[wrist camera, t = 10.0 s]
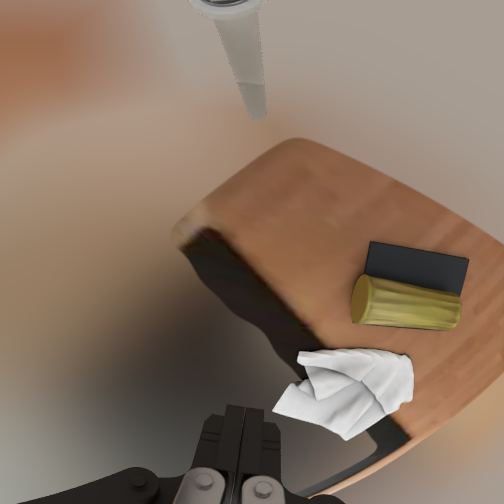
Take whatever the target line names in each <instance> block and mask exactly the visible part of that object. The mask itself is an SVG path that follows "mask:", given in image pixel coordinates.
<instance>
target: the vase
mask: <svg viewBox="0 0 504 504" xmlns="http://www.w3.org/2000/svg"><path fill="white" fill-rule="evenodd" d="M461 311H462V304H461V300H460V298H459V296H458V295H457V294H455V293H453V292H447V291H440V290H434V289H428V288H423V287H419V286H414V285H410V284H406V283H400V282H396V281H392V280H387V279H381V278H376V277H371V276H368V275H366V274H363V275H361V276H360V277H359V279H358V280H357V282H356V284H355V287H354V290H353V294H352V299H351V318H352V320H353V322H354V324H356V325H360V324H373V325H384V326H397V327H413V328H425V329H434V330H443V331H450V330H452V329H454V328H455V327H456V326H457V324H458V322H459V320H460V317H461Z"/></svg>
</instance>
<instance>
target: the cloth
mask: <svg viewBox="0 0 504 504" xmlns="http://www.w3.org/2000/svg"><path fill="white" fill-rule="evenodd" d="M297 362H298V363H300V364H301V365H304V366H305V369H306V372H307V374H308V377H309V379H305V380H304V381H303V382H301V381H297V382H294V383H291V384H290V385H289V386H288V387H287V389H286V390H285V392H284V393H283V395H282V396H281V398H280V399H279V401H278V402H277V404H276V406H275V407H274V409H273V410H272V411H273V412H276V413H279V414H282V415H286V416H289V417H293V418H297V419H300V420H303V421H307V422H311V423H315V424H319V425H321V426H323V427H325V428H327V429H329V430H331V431H333V432H334V433H338V434H339V435H340V436H341V437H342V438H343V439H344V440H345V441H347V440H349V439H350V438H352V437H354V436H355V435H357V434H359V433H360V432H362V431H364V430H365V429H367V428H368V427H370V426H371V425H373V424H374V423H376V422H377V421H379V420H380V419H381V418H383V417H384V416H386V415H388V414H390V413H392V412H395V411H396V410H398V409H399V407H400V404H401V403H403V402H410V401H411V400H412V399H413V389H414V375H413V366H412V362H411V359H410V358H409V357H408V356H407V355H406V354H404V355H402V356H400V355H398V354H395V353H391V352H389V351H385V350H377V349H362V348H356V349H344V348H340V349H335V350H318V351H314V352H303V351H300V352H299V355H298V359H297Z"/></svg>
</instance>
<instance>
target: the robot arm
mask: <svg viewBox="0 0 504 504" xmlns="http://www.w3.org/2000/svg"><path fill="white" fill-rule="evenodd" d="M201 1H202V2H204V3H206V4H208V5H211V6H216V7H230V6H236V5H239V4H242V3H244V2H246V1H248V0H201ZM244 408H245V407H240V406H233V405H227V407H226V412H225V416H220V415H215V414H212V415H211V416H210V417H209V418H208V419H207V420H205V422H204V425H203V429H202V432H201V435H200V440H199V443H198V446H197V449H196V453H195V456H194V459H193V463H192V466H191V468H190V470H189V471H188V472H187V473H185V474H183V475H181V476H178V477H172V478H158V477H157V476H156V475H155V474H154V473H153V472H152V471H150V470H148V469H145V468H141V467H132V468H128V469H125V470H123V471H120V472H118V473H115V474H112V475H110V476H107V477H104V478H102V479H99V480H96V481H94V482H90V483H88V484H85V485H82V486H79V487H76V488H73V489H69V490H66V491H63V492H60V493H56V494H53V495H49V496H46V497H42V498H38V499H35V500H31V501H27V502H22V503H18V504H230V498H231V493H232V488H233V483H234V489H233V495H232V503H231V504H345V503H344V502H342V501H341V500H340V499H338V498H337V497H335V496H332V495H326V494H321V495H317V496H314V497H312V498H311V499H308V498H304V497H301V496H298V495H295V494H293V493H290V492H289V491H288V490H287V489H286V488H285V487H284V486H283V484H282V482H281V453H280V452H281V451H280V449H281V445H280V444H281V443H280V442H281V441H280V430H279V429H278V427H277V425H276V424H275V423H270V422H263V418H264V410H262V409H255V408H246V411H245V417H244V422H243V416H244ZM242 423H243V428H242ZM241 431H242V434H241ZM240 438H241V440H240ZM239 445H240V446H239ZM238 452H239V453H238ZM237 459H238V461H237ZM236 466H237V468H236ZM235 473H236V475H235ZM234 477H235V481H234Z"/></svg>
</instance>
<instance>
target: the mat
mask: <svg viewBox="0 0 504 504" xmlns="http://www.w3.org/2000/svg"><path fill="white" fill-rule="evenodd" d="M468 263H469V259H466V258H461V257H456V256H450V255H445V254H440V253H434V252H429V251H423V250H418V249H412V248H406V247H401V246H395V245H389V244H383V243H378V242H372V241H370V246H369V251H368V256H367V261H366V266H365V271H364V274H366V275H368V276H371V277H376V278H381V279H387V280H392V281H396V282H400V283H406V284H410V285H414V286H419V287H423V288H428V289H434V290H440V291H447V292H453V293H455V294H457V295H458V296H459V298H460V295H461V291H462V287H463V284H464V280H465V276H466V272H467V268H468ZM353 323H354V322H353ZM366 325H373V324H366ZM376 326H384V325H376ZM387 327H397V326H387ZM398 328H411V329H424V330H434V329H425V328H413V327H398ZM438 331H443V330H438Z"/></svg>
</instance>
